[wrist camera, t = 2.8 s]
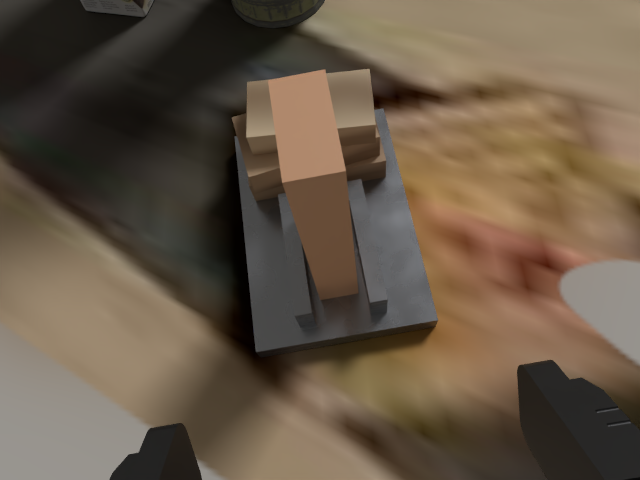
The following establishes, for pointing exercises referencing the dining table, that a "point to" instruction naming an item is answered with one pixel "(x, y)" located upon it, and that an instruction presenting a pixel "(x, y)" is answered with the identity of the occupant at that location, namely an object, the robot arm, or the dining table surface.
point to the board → (315, 179)
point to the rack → (370, 257)
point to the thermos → (275, 11)
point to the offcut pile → (352, 125)
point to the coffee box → (119, 6)
